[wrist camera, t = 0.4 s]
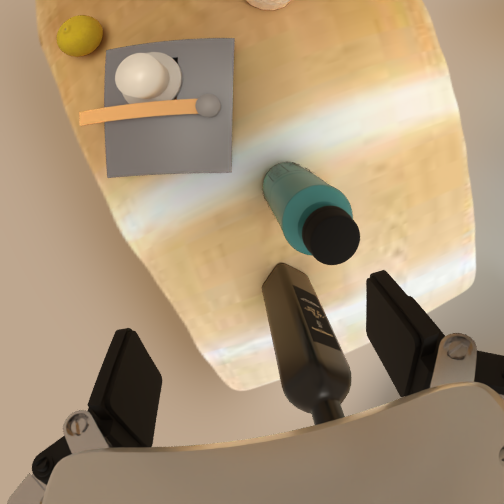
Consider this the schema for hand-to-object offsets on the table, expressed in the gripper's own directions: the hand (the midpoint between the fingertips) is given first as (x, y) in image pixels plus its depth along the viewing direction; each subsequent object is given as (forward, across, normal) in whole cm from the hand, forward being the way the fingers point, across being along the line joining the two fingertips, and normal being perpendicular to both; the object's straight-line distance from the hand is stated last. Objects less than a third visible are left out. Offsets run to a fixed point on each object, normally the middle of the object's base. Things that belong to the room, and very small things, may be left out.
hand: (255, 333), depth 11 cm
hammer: (+25, +7, -11) cm, 29 cm away
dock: (+29, +5, -11) cm, 32 cm away
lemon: (+30, +14, -25) cm, 41 cm away
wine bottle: (+30, -4, +17) cm, 34 cm away
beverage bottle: (+30, -6, +2) cm, 30 cm away
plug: (+29, +6, -14) cm, 33 cm away
